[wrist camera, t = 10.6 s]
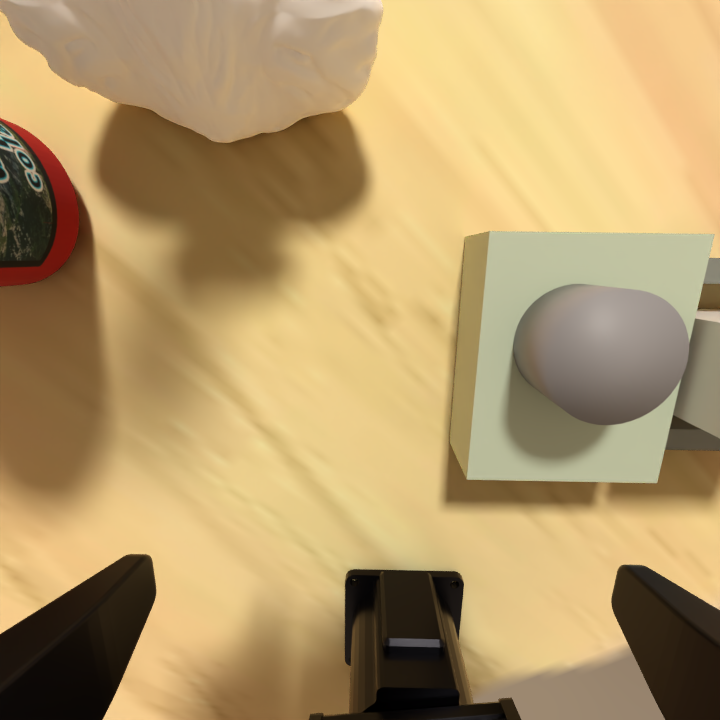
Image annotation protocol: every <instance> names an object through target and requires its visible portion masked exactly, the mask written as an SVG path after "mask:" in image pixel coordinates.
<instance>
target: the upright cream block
mask: <svg viewBox="0 0 720 720" xmlns="http://www.w3.org/2000/svg"><path fill="white" fill-rule="evenodd" d="M673 415H674V416H676V417H678V418H680V419H682V420H684V421H686V422H688V423H690V424H692V425H694V426H696V427H698V428H700V429H702V430H704V431H706V432H708V433H710V434H712V435H714V436H716V437H718V438H720V309H697V312H696V317H695V321H694V325H693V330H692V334H691V338H690V343H689V355H688V361H687V365H686V368H685V371H684V373H683V376H682V378H681V382H680V386H679V390H678V395H677V399H676V403H675V408H674V412H673Z"/></svg>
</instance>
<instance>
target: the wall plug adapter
mask: <svg viewBox="0 0 720 720" xmlns="http://www.w3.org/2000/svg"><path fill="white" fill-rule="evenodd" d="M714 235H715V234H659V233H582V232H505V231H489V232H484V233H480V234H476V235H471V236H467V237H465V247H464V260H463V273H462V286H461V299H460V312H459V325H458V338H457V350H456V363H455V376H454V389H453V402H452V415H451V428H450V441H449V442H450V444H451V447H452V449H453V451H454V453H455V455H456V457H457V460H458V462H459V464H460V466H461V468H462V470H463V473H464V475H465V477H466V479H467V480H515V481H567V482H619V483H657V481H658V477H659V473H660V468H661V464H662V460H663V455H664V451H665V450H713V451H720V438H718V437H716V436H714V435H712V434H710V433H708V432H706V431H704V430H702V429H700V428H698V427H696V426H694V425H692V424H690V423H688V422H686V421H684V420H682V419H680V418H678V417H676V416H674V415H673V412H674V408H675V403H676V399H677V395H678V390H679V386H680V382H681V378H682V376H683V373H684V371H685V368H686V365H687V361H688V355H689V343H690V338H691V334H692V330H693V325H694V321H695V317H696V312H697V308H698V304H699V299H700V295H701V291H702V286H703V284H720V258H709V256H710V252H711V248H712V243H713V239H714Z"/></svg>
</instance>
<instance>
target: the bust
mask: <svg viewBox="0 0 720 720" xmlns="http://www.w3.org/2000/svg"><path fill="white" fill-rule="evenodd" d="M0 11H1V12H2V13H4V14H5V15H6V16H7V18H8V21H9V23H10V26H11V28H12V30H13V32H14V33H15V35H16V36H17V37H18V38H19V39H20V40H21V41H22V42H23V43H25V44H26V45H28V46H29V47H31V48H33V49H35V50H37V51H38V52H40V53H41V54H42V55H43V56H44V57H45V58H46V60H47V62H48V65H49V67H50V68H51V70H52V71H53V72H54V73H56V74H57V75H58V76H60V77H61V78H62V79H64V80H66V81H67V82H69V83H71V84H73V85H75V86H78V87H85V88H87V89H89V90H90V91H93V92H96V93H98V94H100V95H101V96H103V97H105V98H107V99H109V100H111V101H113V102H116V103H121V104H127V105H134V106H138V107H143V108H147V109H150V110H153V111H154V112H156V113H157V114H158V115H160V116H161V117H163V118H165V119H167V120H169V121H171V122H174V123H176V124H178V125H181V126H183V127H186V128H189V129H192V130H193V131H195V132H197V133H199V134H201V135H203V136H205V137H207V138H208V139H209V140H211V141H214V142H221V143H230V142H233V141H236V140H240V139H244V138H249V137H252V136H255V135H257V134H260V133H272V132H278V131H281V130H284V129H286V128H288V127H289V126H291V125H293V124H294V123H295V122H297V121H299V120H300V119H302V118H305V117H309V116H313V115H319V114H322V113H331V112H337V111H341V110H343V109H345V108H346V107H348V106H349V105H351V104H352V103H353V102H354V101H356V99H357V98H358V97H359V96H360V95H361V94H362V92H363V91H364V89H365V87H366V85H367V83H368V80H369V76H370V72H371V68H372V65H373V63H374V61H375V59H376V55H377V41H378V29H379V26H380V24H381V20H382V16H383V5H382V2H381V0H0Z"/></svg>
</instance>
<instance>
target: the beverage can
mask: <svg viewBox="0 0 720 720" xmlns="http://www.w3.org/2000/svg"><path fill="white" fill-rule="evenodd" d="M78 228H79V211H78V204H77V199H76V195H75V192H74V189H73V186H72V183H71V181H70V179H69V177H68V175H67V173H66V171H65V169H64V168H63V166H62V165H61V163H60V162H59V160H58V159H57V158H56V156H55V155H54V154H53V153H52V152H51V151H50V149H49V148H48V147H47V146H46V145H45V144H43V143H42V142H41V141H40V140H39V139H38V138H36V137H35V136H34V135H32V134H31V133H30V132H28V131H26V130H25V129H23V128H21V127H19V126H18V125H15V124H13V123H11V122H8V121H6V120H3V119H1V118H0V287H1V286H13V285H23V284H30V283H34V282H37V281H40V280H42V279H45V278H47V277H49V276H50V275H52V274H53V273H55V272H56V271H57V270H58V269H59V268H61V267H62V265H63V264H64V263H65V262H66V261H67V259H68V258H69V256H70V254H71V252H72V250H73V248H74V246H75V243H76V239H77V235H78Z"/></svg>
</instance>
